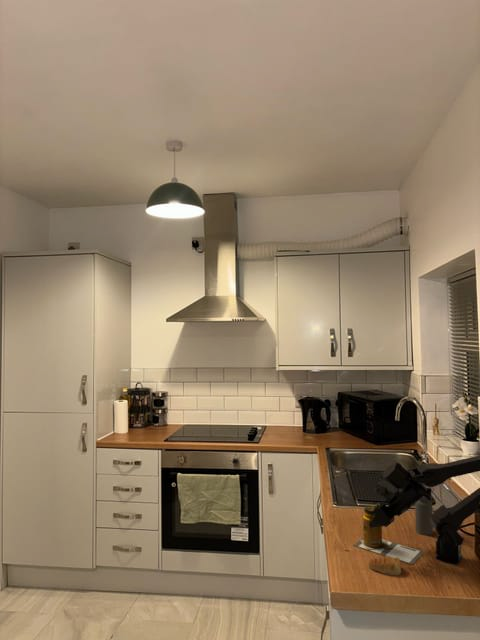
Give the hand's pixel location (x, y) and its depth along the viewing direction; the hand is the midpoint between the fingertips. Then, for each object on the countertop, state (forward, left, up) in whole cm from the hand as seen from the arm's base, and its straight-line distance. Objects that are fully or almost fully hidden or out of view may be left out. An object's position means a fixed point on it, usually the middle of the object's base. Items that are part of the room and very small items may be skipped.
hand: (375, 521), depth 155 cm
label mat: (-4, 0, -8) cm, 9 cm away
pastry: (-9, +13, -8) cm, 18 cm away
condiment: (0, 0, -8) cm, 8 cm away
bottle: (-9, -21, -8) cm, 24 cm away
